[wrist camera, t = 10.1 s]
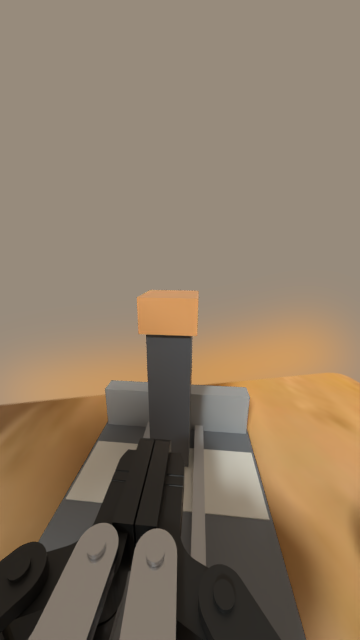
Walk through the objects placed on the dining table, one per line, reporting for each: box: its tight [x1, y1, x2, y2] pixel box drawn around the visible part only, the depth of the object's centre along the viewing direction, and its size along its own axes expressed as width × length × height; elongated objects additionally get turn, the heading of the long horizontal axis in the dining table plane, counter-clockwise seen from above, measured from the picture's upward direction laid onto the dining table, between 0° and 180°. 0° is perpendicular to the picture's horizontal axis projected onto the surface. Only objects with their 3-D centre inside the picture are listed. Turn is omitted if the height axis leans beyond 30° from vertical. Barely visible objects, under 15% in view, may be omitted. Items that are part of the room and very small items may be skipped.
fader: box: [137, 290, 198, 467], centre depth 17 cm, size 4×4×13 cm
